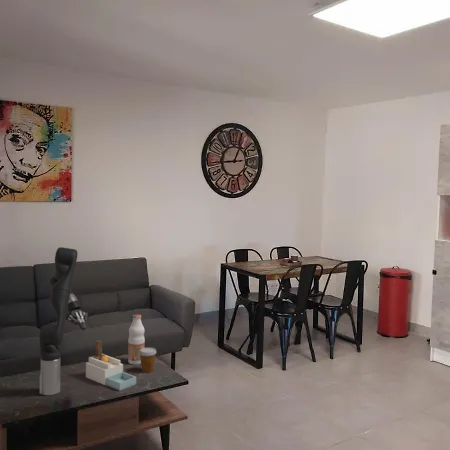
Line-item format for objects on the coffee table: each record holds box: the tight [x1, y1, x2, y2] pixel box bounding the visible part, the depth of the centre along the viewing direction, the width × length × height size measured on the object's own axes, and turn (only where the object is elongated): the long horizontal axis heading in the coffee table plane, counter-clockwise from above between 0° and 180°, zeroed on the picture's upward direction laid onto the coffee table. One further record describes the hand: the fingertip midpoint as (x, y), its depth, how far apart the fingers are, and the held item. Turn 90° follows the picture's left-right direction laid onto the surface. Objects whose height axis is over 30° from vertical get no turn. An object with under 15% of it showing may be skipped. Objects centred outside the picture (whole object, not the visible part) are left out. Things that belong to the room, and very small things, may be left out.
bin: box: [105, 371, 137, 391], centre depth 257 cm, size 11×11×4 cm
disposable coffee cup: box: [139, 347, 157, 374], centre depth 277 cm, size 10×10×12 cm
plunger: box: [93, 339, 106, 361], centre depth 267 cm, size 5×4×11 cm
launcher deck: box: [85, 353, 124, 386], centre depth 265 cm, size 12×16×10 cm
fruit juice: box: [127, 314, 146, 366], centre depth 290 cm, size 9×9×28 cm
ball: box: [101, 355, 108, 363], centre depth 265 cm, size 4×4×4 cm
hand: (84, 329), depth 275 cm, fingers closed
